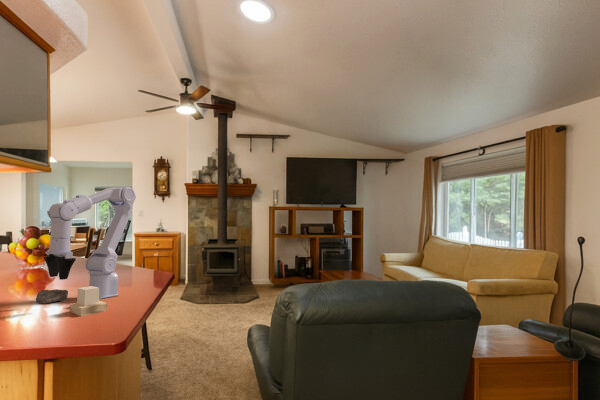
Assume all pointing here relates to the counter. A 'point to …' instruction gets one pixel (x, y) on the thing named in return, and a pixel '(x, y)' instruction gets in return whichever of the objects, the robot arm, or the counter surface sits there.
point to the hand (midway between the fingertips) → (58, 277)
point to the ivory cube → (88, 295)
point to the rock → (51, 296)
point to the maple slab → (88, 308)
